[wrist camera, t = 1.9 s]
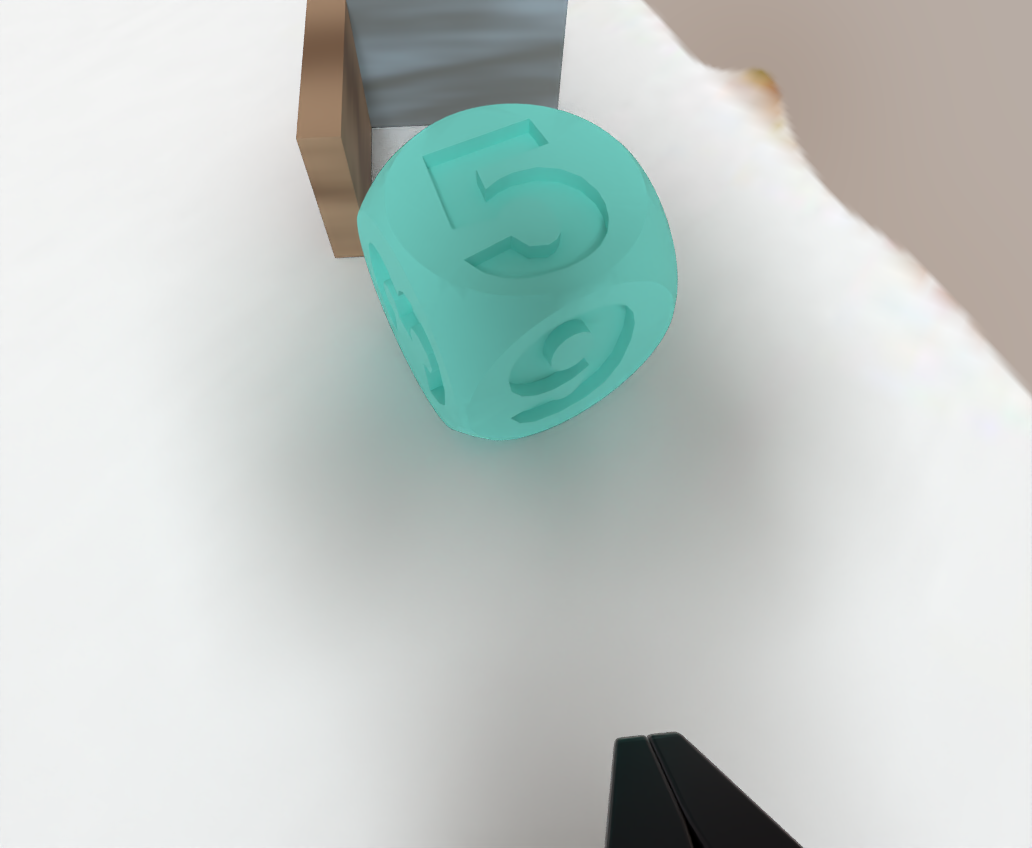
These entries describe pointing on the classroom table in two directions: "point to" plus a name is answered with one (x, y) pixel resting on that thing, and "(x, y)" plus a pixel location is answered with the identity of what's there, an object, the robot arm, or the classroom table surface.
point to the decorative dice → (518, 265)
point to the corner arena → (410, 81)
